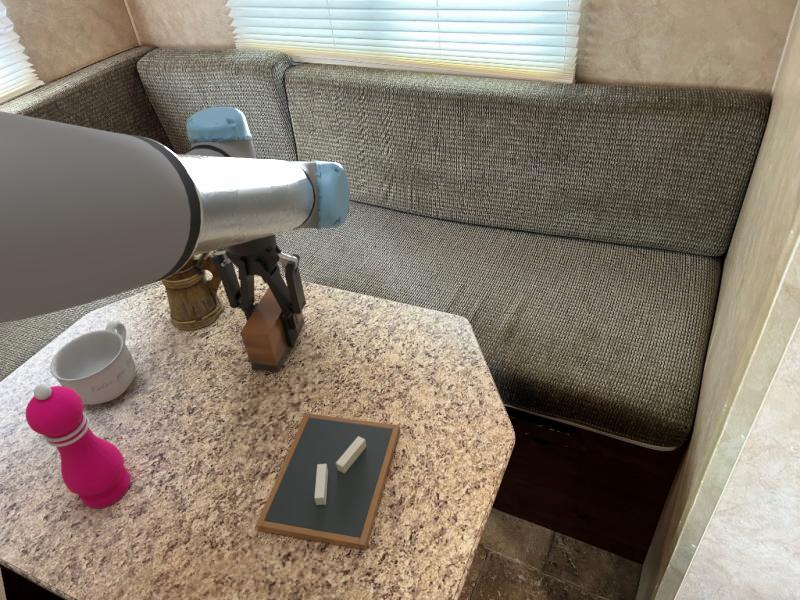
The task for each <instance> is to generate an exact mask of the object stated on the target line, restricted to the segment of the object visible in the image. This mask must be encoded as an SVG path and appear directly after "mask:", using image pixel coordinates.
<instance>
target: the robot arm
mask: <svg viewBox="0 0 800 600" xmlns="http://www.w3.org/2000/svg"><path fill="white" fill-rule="evenodd" d="M186 133H187V140H188V142H189V143H190V148H189V149H188V150H187V151H186V153H184V154H181V153H175V152H174V151H172V149H170V148H168V147H167V146H166V145H164V144H162V143H161V142H159V141H157V140H155V139H152V138H149V137H146V136H141V135H135V134H126V133H118V132H113V131H107V130H102V129H97V128H93V127H86V126H80V125H75V124H70V123H65V122H60V121H54V120H49V119H44V118H39V117H35V116H34V117H33V116H28V115H23V114H17V113H12V112H7V111H3V110H0V324H2V323H3V324H4V323H9V322H15V321H16V322H17V321H22V320H28V319H31V318H32V319H33V318H36V317H40V316H44V315H48V314H52V313H56V312H60V311H64V310H68V309H71V308H72V309H73V308H75V307H79V306H82V305H86V304H89V303H93V302H96V301H99V300H102V299H107V298H109V297H112V296H115V295H118V294H119V295H120V294H122V293H125V292H128V291H129V292H130V291H132V290H135V289H138V288H141V287H144V286H148V285H151V284H154V283H157V282H160V281H162V280H163V279H165V278H167V277H170V276H172V275H173V274H175V273H176V272H178V271H179V270H180V269H181V268H182V267H184V266H185V265H186V263H187V262H188V261H189V260H190V258H191V257H192V256H195V257H196V256H200V255H201V254H202V253H206V252H210V253H211V252H213V251H216V252H215V253H214V255H213V256H212V258H211V261H212V263H213V264H214V266H215V267H216V268H217V270H218V272H219V275H220V278H221V284H222V286H223V289H224V292H225V295H226V299H227V301H228V304H229V306H230V307H231V308H232V309H240V310H241V311H242V312H243V313H244V316H245V320H246V322H247V321H248V319H249V318H250V316H251V315H252V313H253V311H254V310H255V308H256V307H257V305H258V304H259V302H256V301H257V298H256V296H255V295H256V294H255V276H258V277H261V280H262V281H263V283H264V284H267V286H268V288H270V290H271V291H272V293H273V295H274V297H275V299H276V301H277V302H278V304H279V306H280V308H281V310H282V314H281V316H280V319H281V323H282V326H283V330H284V334H285V337H286V341H287V345H288V347H292V348H294V345H295V343H296V341H297V340H298V337H299V334H297V330H296V328H297V326H298V324H299V320H298V316H297V314H300V313H301V312H302V313H303V309H304V308H305V306H306V305H307V300H306V299H307V298H306V295H305V291H304V286H303V282H302V278H301V273H300V269H299V265H300V260H301V257H300V255H299V254H298V253H293V254H292V255H289V254H286V253H283V252H282V249H281V248H280V247H279V246H278V243H277V237H276V236H277V235H278V234H282V233H286V232H291V231H295V230H300V229H316V230H322V229H336V228H340V227H341V226H343V225H344V224H345V222H346V220H347V218H348V213H349V208H350V207H349V206H350V185H349V179H348V175H347V172H346V170H345V168H344V167H343V166H342V165H341V164H340V163H339V162H334V161H320V160H314V161H293V160H280V159H279V160H278V159H263V158H257V155H256V151H255V147H254V143H253V135H252V133H251V130H250V128H249V124H248V122H247V119H246V116H245V114H244V113H243V112H242V111H241V110H239V109H238V108H236V107H231V106H215V107H209V108H205V109H202V110H200V111H197V112H195V113H194V114H192V115H191V116H190V117H188V119H187V120H186ZM278 262H279V263H280V264H281V267H282V268H280V266H279V263H278ZM234 265H235V266H236V267H237V273H236V269H235V266H234ZM281 269H282V271H283V272H284V277H285V278H283V275H282V274H281ZM237 274H238V276H237ZM284 279H285V280H284ZM0 600H7V595H6V591H5V586H4V580H3V575H2V570H1V568H0Z"/></svg>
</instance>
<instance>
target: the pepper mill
mask: <svg viewBox="0 0 800 600" xmlns="http://www.w3.org/2000/svg"><path fill="white" fill-rule="evenodd" d="M84 405H85V404H83V401H82V399H81V397H80V396H79V395H78V394H77V392H75V391H74V390H73V389H70V388H68V387H64V386H61V385H53V386H49V385H48V384H44V383H43V384H39V385H36V386H35V388H34V390H33V397H32V398H31V399H30V400H29V402H28V403H27V405H26V408H25V420H26V423H27V424H28V426H29V428H30V429H31V430H32V431H33V432H35V433H37V434H39V435H41V436H42V437H43V438H44V440H45V441H46V443H47V444H48V445H49V446H52V447H53V448H54V447H55V448H56V449H57V450H58V452H59V456H60V472H61V473H60V474H61V478H62V480H63V483H64V484H65V487H66V488H67V489H68V490H69V491H70V492H71V493H73V494H74V495H78V497H79V498H80V500H81V501H82V502H83V504H84V505H85V506H86V507H89V508H92V509H103V508H106V507H109V506H111V505H113V504H114V503H116V502H118V501H119V500H121V498H123V496H124V495H125V494H126V493H127V492H128V490H129V488H130V486H131V485H130V484H131V475H130V473H129V471H128V470H127V468H126V467H125V459H124V456H123V453H122V452H121V450H119V448H118V447H117V446H115V445H114V444H113V443H112V442H110V441H108V440H107V439H104V438H101V437H98V436H97V435H96V434H94V433H93V432H92V430H91V428H90V419H89V417H88V416H87V414H86V412H85V411H84V408H85V407H84Z"/></svg>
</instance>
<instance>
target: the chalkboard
mask: <svg viewBox="0 0 800 600" xmlns="http://www.w3.org/2000/svg"><path fill="white" fill-rule="evenodd" d="M400 433H401V425H400V424H394V423H386V422H378V421H371V420H363V419H356V418H349V417H341V416H335V415H326V414H319V413H311V412H305V413H304V416H303V418H302V420H301V423H300V425H299V427H298V429H297V432H296V434H295V436H294V439H293V441H292V443H291V445H290V447H289V449H288V452H287V454H286V457H285V458H284V461H283V464H282V465H281V467H280V470H279V471H278V474H277V477H276V478H275V481H274V483H273V486H272V488H271V490H270V492H269V494H268V497H267V499H266V501H265V504H264V506H263V508H262V510H261V512H260V515H259V517H258V519H257V521H256V524H255V527H256V530H257V531H260V532H266V533H270V534H276V535H280V536H286V537H292V538H299V539H304V540H308V541H309V540H310V541H313V542H314V541H315V542H319V543H326V544H331V545H336V546H341V547H346V548H352V549H357V550H362V551H367V549H368V545H369V542H370V538H371V534H372V531H373V528H374V525H375V520H376V517H377V513H378V510H379V506H380V504H381V500H382V496H383V491H384V490H385V486H386V482H387V479H388V475H389V472H390V469H391V464H392V461H393V458H394V454H395V451H396V447H397V444H398V440H399V436H400ZM358 436H359V437H361V438H363V439H365V441H366V448H365V449H364V450H363V452H362V453H361V454H360V455H359V457H358V458H357V459H356V460H355V461H354V463H353V464H352V465H351V466H350V468H349V469H348V470H347V471H346V473H345V474H344V473H342V472H340V471H338V470H337V466H336V462H337V461H338V460H339V459H340V457H341V456H342V455H343V454H344V453H345V451H346V450H347V449H348V448H349V447H350V445H351V444H352V443H353V442H354V441H355V439H356V438H357V437H358ZM317 464H327V468H328V481H327V496H326V505H316V502H315V499H314V497H315V485H316V474H317Z"/></svg>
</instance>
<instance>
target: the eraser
mask: <svg viewBox="0 0 800 600" xmlns="http://www.w3.org/2000/svg"><path fill="white" fill-rule="evenodd" d="M258 303H259V304H258V305H257V307H256V308H255V310H254V311H253V313H252V315H251V316H250V318H249V319H248V321H247V320H246V323H245V324H244V326H243V327H242V329H241V330H240V332H239V333H240V336H241V338H242V342H243V345H244V349H245V351H246V354H247V357H248V360H249V363H250V366H251V370H257V371H264V372H265V371H266V372H274V373H280V371H281V369H282V367H283V365H284V363H285V361H286V359H287V357H288V355H289V353H290V352H291V350H292V348H293V347H288V345H287V341H286V337H285V334H284V330H283V326H282V323H281V319H280V316H281V314H282V310H281V308H280V306H279V304H278V302H277V301H276V299H275V297H274V295H273V293H272V291H271V290H270V288H269V287H268V288H267V289H266V291H265V292H264V294H263V295H262V297H261V299H260V301H259V302H258ZM297 316H298V320H299V324H298V326H297V328H296V330H297V334H298V335H299V334H300V332H301V330H302V328H303V327H304V325H305V318H304V314H303V311H302V312H301V313H300V314H297Z"/></svg>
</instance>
